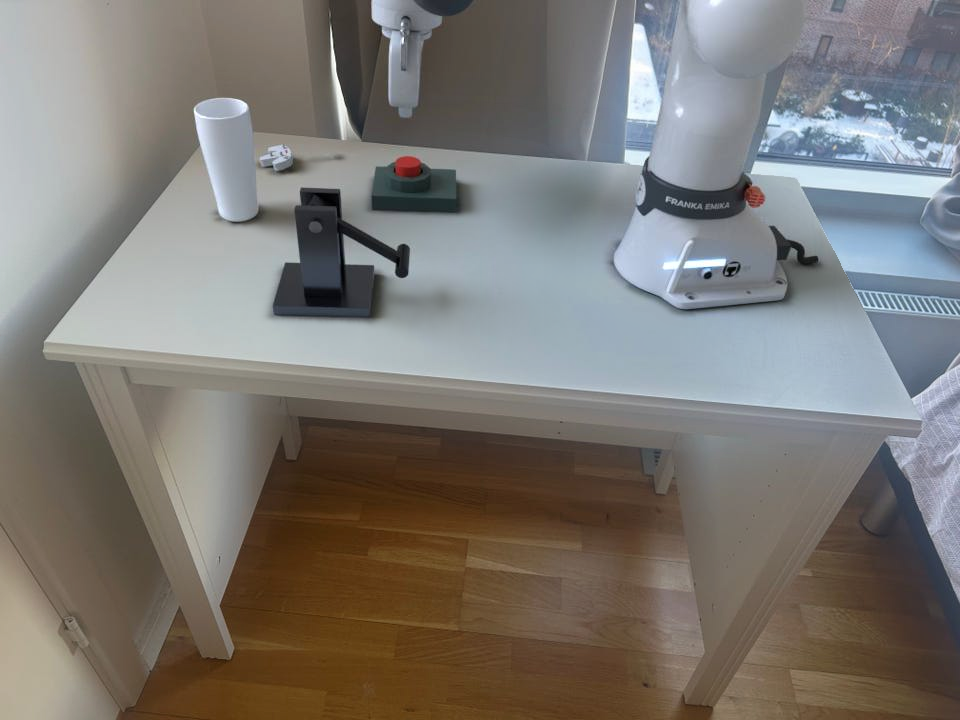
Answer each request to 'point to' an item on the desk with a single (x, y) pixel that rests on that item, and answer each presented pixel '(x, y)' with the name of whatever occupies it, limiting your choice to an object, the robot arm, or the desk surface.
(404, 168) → the power button
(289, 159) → the game controller
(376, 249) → the black lever handle
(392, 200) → the power block
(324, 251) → the lever base
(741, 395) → the desk surface
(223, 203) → the drinking glass
